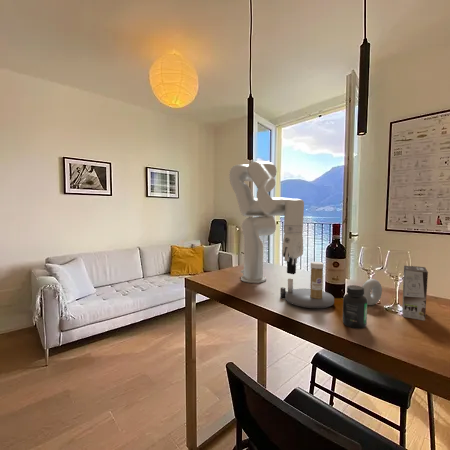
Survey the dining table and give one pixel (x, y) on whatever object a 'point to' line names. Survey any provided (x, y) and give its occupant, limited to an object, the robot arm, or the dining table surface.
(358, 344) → the dining table surface
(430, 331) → the dining table surface
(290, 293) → the turntable
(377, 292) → the donut
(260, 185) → the robot arm
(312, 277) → the sprinkles bottle
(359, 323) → the supplement bottle
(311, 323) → the dining table surface
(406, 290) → the coffee box
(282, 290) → the stop dowel
